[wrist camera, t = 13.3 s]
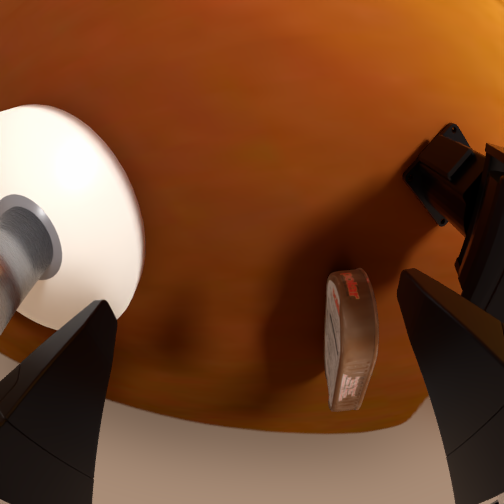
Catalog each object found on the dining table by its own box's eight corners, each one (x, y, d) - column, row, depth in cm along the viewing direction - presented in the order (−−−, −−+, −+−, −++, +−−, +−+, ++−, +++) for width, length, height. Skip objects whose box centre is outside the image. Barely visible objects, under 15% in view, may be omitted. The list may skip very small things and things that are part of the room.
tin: (344, 358, 31) (360, 422, 24) (317, 362, 31) (329, 428, 24) (356, 246, 23) (395, 321, 16) (319, 250, 23) (346, 330, 16)
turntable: (199, 197, 19) (194, 210, 18) (100, 346, 28) (94, 360, 26) (-4, 66, 12) (-21, 69, 10) (-37, 247, 21) (-47, 257, 19)
